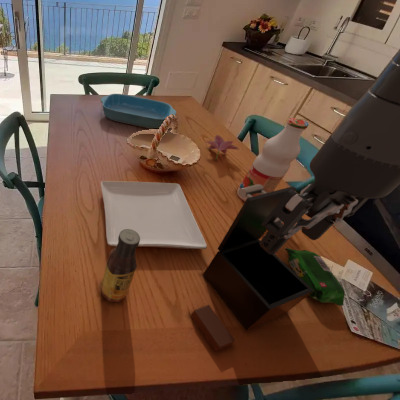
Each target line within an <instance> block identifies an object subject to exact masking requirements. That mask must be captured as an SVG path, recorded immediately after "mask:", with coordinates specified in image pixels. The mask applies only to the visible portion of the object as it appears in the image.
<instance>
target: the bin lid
mask: <svg viewBox="0 0 400 400" xmlns="http://www.w3.org/2000/svg"><path fill="white" fill-rule="evenodd" d="M290 190H294V191H296V190H297V188H296V187H295V186H292V185H291V186H289V187H284V188H280V189H276V190H274V191H273V192H269V193H267V192H265V191H264V188H263V186H262V185H260V184H257V185H253V186H249V187H245V188H241V189H239V191H238V194H239V196H240V197H247V199H246V201H244V203H243V205H242V206H241V208H240V209H239V211H238V213H237V215H236V216H235V218H234V220H232V221H233V222H232V223H231V225H230V226H229V228H228V230H227V232H226V233H225V235H224V237H223V239H221V242H220V243H219V245H218V247H217V250H218V251H223V250H226V249H229V248H232V247H235V246H238V245H242V244H245V243H248V242H251V241H254V240H257V239H259V240H261V239H262V238H263V237H264V235H265V233H267V231H268V230H267V229H265V228H264V227H263V226H262V223H263V222H264V220H265V219H266V218H267V217H268V215H269V214H270V213H271V212H272V210H273V209H274V208H275V207H276V205H277V204H278V203H279V202H280V200H281V199H282V198H283V197H284V195H285V194H286V193H287V192H288V191H290ZM259 193H260V194H261V195H257V196H252V195H255V194H259ZM238 194H237V195H238ZM239 196H238V197H239ZM240 197H239V198H240Z"/></svg>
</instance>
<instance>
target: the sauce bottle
mask: <svg viewBox="0 0 400 400" xmlns="http://www.w3.org/2000/svg"><path fill="white" fill-rule="evenodd" d="M139 242H140V236H139V234H138V233H137V232H136V231H134V230H132V229H124V230H122V231H121V232H120V234H119V237H118V245H117V246H114V247H113V248H112V249H111V250H110V252H109V254H108V258H107V260H106V264H105V267H104V273H103V277H102V281H101V287H100V290H101V294H102V296H103V298H104V299H105V300H106V301H108V302H111V303H118V302H119V303H120V302H121V301H123V300H124V299H125V297H126V296H127V294H128V292H129V289H130V287H131V283H132V281H133V279H134V275H135V274H136V271H137V267H138V264H137V258H136V251H137V248H138V247H137V246H138V245H139Z"/></svg>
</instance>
